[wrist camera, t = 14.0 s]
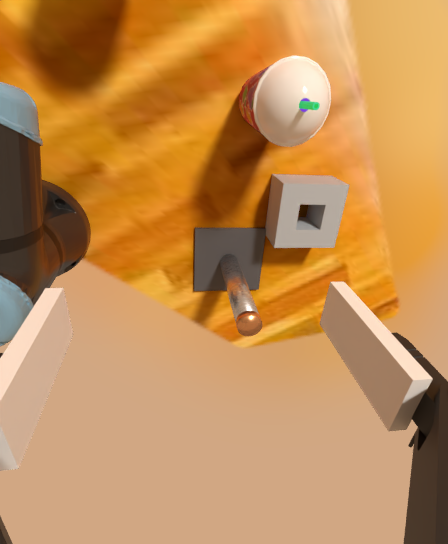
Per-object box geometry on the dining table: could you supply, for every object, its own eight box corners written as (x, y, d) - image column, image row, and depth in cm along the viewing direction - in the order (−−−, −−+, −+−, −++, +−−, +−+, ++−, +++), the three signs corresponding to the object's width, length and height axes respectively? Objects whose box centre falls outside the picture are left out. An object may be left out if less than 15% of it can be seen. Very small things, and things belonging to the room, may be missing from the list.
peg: (219, 255, 55) (236, 317, 40) (237, 252, 56) (262, 314, 40) (220, 271, 57) (238, 337, 41) (238, 268, 57) (262, 334, 42)
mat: (194, 289, 59) (194, 291, 58) (194, 227, 53) (195, 229, 52) (257, 287, 60) (258, 289, 60) (265, 227, 55) (266, 229, 54)
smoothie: (284, 134, 48) (348, 158, 31) (229, 131, 46) (263, 154, 29) (294, 68, 44) (373, 52, 26) (234, 63, 42) (276, 43, 25)
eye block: (264, 233, 55) (274, 247, 50) (272, 174, 50) (283, 183, 45) (319, 233, 57) (334, 247, 52) (331, 175, 52) (349, 185, 47)
